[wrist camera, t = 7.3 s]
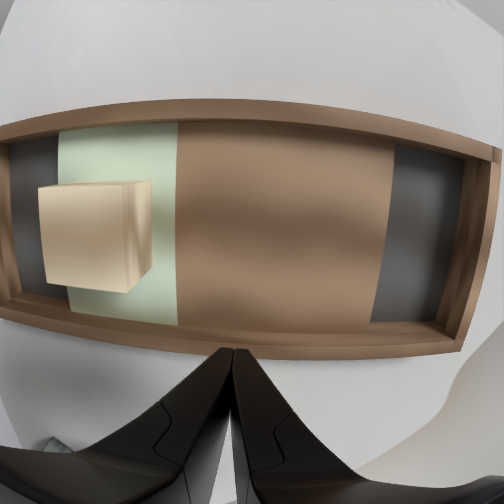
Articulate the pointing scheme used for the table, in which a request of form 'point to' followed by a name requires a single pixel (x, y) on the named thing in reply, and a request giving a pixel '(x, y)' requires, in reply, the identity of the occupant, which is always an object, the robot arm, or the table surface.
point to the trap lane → (262, 228)
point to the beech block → (97, 233)
